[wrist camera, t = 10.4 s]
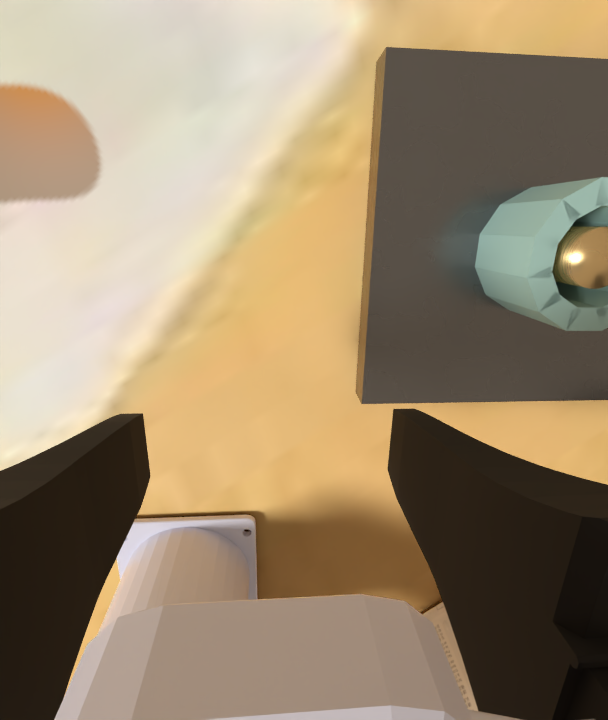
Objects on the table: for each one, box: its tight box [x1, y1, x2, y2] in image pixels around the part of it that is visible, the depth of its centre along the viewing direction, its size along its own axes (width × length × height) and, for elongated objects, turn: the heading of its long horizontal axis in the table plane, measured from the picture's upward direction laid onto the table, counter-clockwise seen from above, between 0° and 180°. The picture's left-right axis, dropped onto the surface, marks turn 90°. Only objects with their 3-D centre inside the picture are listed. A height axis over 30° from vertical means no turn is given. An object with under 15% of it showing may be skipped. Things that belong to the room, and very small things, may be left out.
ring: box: [475, 177, 608, 331], centre depth 17 cm, size 5×5×4 cm
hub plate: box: [356, 47, 608, 404], centre depth 17 cm, size 15×15×6 cm
